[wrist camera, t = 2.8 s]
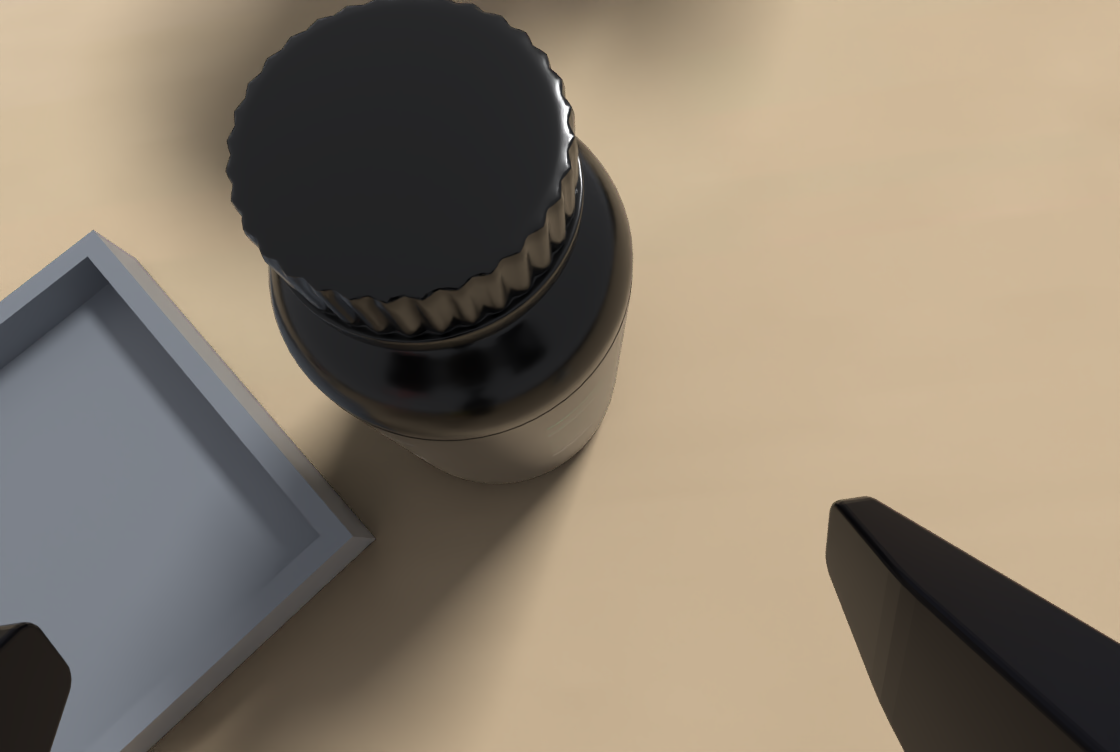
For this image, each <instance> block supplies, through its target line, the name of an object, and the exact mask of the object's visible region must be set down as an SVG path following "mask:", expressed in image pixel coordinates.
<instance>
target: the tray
mask: <svg viewBox="0 0 1120 752" xmlns="http://www.w3.org/2000/svg"><path fill="white" fill-rule="evenodd" d="M375 539H376V538H375V537H374V536H373V535H372V534H371V533H370V531H369V530H368V529H367V528H366V527H365V526H364V524H363V523H362V522H361V521H360V520H359V519H358V517H357V516H356V515H355V514H354V513H353V512H352V510H351V509H350V508H349V507H348V506H347V505H346V503H345V502H344V501H343V500H342V499H341V498H340V496H339V495H338V494H337V493H336V492H335V491H334V489H333V488H332V487H331V486H330V485H329V484H328V482H327V481H326V480H325V479H324V478H323V477H322V475H321V474H320V473H319V472H318V471H317V470H316V468H315V467H314V466H313V465H312V464H311V463H310V461H309V460H308V459H307V458H306V457H305V455H304V454H303V453H302V452H301V451H300V450H299V448H298V447H297V446H296V445H295V444H294V443H293V441H292V440H291V439H290V438H289V437H288V436H287V434H286V433H285V432H284V431H283V430H282V429H281V427H280V426H279V425H278V424H277V423H276V422H275V420H274V419H273V418H272V417H271V416H270V415H269V413H268V412H267V411H266V410H265V409H264V408H263V406H262V405H261V404H260V403H259V402H258V401H257V399H256V398H255V397H254V396H253V395H252V394H251V392H250V391H249V390H248V389H247V388H246V387H245V385H244V384H243V383H242V382H241V381H240V380H239V378H238V377H237V376H236V375H235V374H234V373H233V371H232V370H231V369H230V368H229V367H228V366H227V364H226V363H225V362H224V361H223V360H222V359H221V357H220V356H219V355H218V354H217V353H216V352H215V350H214V349H213V348H212V347H211V346H210V345H209V343H208V342H207V341H206V340H205V339H204V338H203V336H202V335H201V334H200V333H199V332H198V330H197V329H196V328H195V327H194V326H193V325H192V323H191V322H190V321H189V320H188V319H187V318H186V316H185V315H184V314H183V313H182V312H181V311H180V309H179V308H178V307H177V306H176V305H175V304H174V302H173V301H172V300H171V299H170V298H169V297H168V295H167V294H166V293H165V292H164V291H163V290H162V288H161V287H160V286H159V285H158V284H157V283H156V281H155V280H154V279H153V278H152V277H151V276H150V274H149V273H148V272H147V271H146V270H145V269H144V267H143V266H142V265H141V264H140V263H139V262H138V260H137V259H136V258H134V257H133V256H131V255H130V254H128V253H127V252H125V251H124V250H122V249H121V248H119V247H118V246H116V245H115V244H114V243H112V242H111V241H109V240H108V239H106V238H105V237H103V236H102V235H100V234H99V233H97V232H96V231H94V230H92V231H91V232H90V233H89V234H87V235H86V236H85V237H83V238H82V239H81V240H80V241H78V242H77V243H76V244H74V245H73V246H72V247H70V248H69V249H68V250H67V251H65V252H64V253H63V254H61V255H60V256H59V257H58V258H56V259H55V260H54V261H52V262H51V263H50V264H49V265H47V266H46V267H45V268H43V269H42V270H41V271H39V272H38V273H37V274H36V275H34V276H33V277H32V278H30V279H29V280H28V281H27V282H25V283H24V284H23V285H21V286H20V287H19V288H17V289H16V290H15V291H14V292H12V293H11V294H10V295H8V296H7V297H6V298H5V299H3V300H2V301H1V302H0V625H7V624H14V623H20V622H31V623H33V624H35V625H37V626H38V627H39V628H40V629H41V630H42V631H43V632H44V634H45V635H46V636H47V638H48V639H49V640H50V642H51V643H52V644H53V646H54V647H55V648H56V650H57V651H58V652H59V654H60V655H61V656H62V658H63V659H64V660H65V662H66V663H67V664H68V666H69V668H70V671H71V678H72V682H71V689H70V693H69V696H68V699H67V702H66V705H65V708H64V711H63V714H62V717H61V720H60V723H59V726H58V730H57V733H56V736H55V739H54V742H53V745H52V748H51V751H50V752H147V751H148V750H149V749H150V748H151V747H152V746H154V745H155V744H156V743H157V742H158V741H159V740H160V739H161V738H162V737H163V736H164V735H165V734H166V733H167V732H169V731H170V730H171V729H172V728H173V727H174V726H175V725H176V724H177V723H178V722H179V721H180V720H181V719H183V718H184V717H185V716H186V715H187V714H188V713H189V712H190V711H191V710H192V709H193V708H194V707H195V706H197V705H198V704H199V703H200V702H201V701H202V700H203V699H204V698H205V697H206V696H207V695H208V694H209V693H210V692H212V691H213V690H214V689H215V688H216V687H217V686H218V685H219V684H220V683H221V682H222V681H223V680H224V679H226V678H227V677H228V676H229V675H230V674H231V673H232V672H233V671H234V670H235V669H236V668H237V667H238V666H239V665H241V664H242V663H243V662H244V661H245V660H246V659H247V658H248V657H249V656H250V655H251V654H252V653H253V652H255V651H256V650H257V649H258V648H259V647H260V646H261V645H262V644H263V643H264V642H265V641H266V640H267V639H268V638H270V637H271V636H272V635H273V634H274V633H275V632H276V631H277V630H278V629H279V628H280V627H281V626H282V625H284V624H285V623H286V622H287V621H288V620H289V619H290V618H291V617H292V616H293V615H294V614H295V613H296V612H297V611H299V610H300V609H301V608H302V607H303V606H304V605H305V604H306V603H307V602H308V601H309V600H310V599H311V598H313V597H314V596H315V595H316V594H317V593H318V592H319V591H320V590H321V589H322V588H323V587H324V586H325V585H326V584H328V583H329V582H330V581H331V580H332V579H333V578H334V577H335V576H336V575H337V574H338V573H339V572H340V571H342V570H343V569H344V568H345V567H346V566H347V565H348V564H349V563H350V562H351V561H352V560H353V559H354V558H355V557H357V556H358V555H359V554H360V553H361V552H362V551H363V550H364V549H365V548H366V547H367V546H368V545H369V544H371V543H372V542H373V541H374V540H375Z"/></svg>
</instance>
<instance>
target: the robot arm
mask: <svg viewBox="0 0 1120 752" xmlns="http://www.w3.org/2000/svg"><path fill="white" fill-rule="evenodd" d="M826 564H827V568H828V572H829V575H830V578H831V580H832V583H833V586H834V588H835V591H836V593H837V596H838V598H839V601H840V603H841V606H842V609H843V611H844V614H845V616H846V619H847V621H848V624H849V627H850V629H851V632H852V634H853V637H854V639H855V642H856V644H857V647H858V650H859V652H860V655H861V657H862V660H863V662H864V665H865V668H866V670H867V673H868V675H869V678H870V680H871V683H872V685H873V688H874V690H875V692H876V695H877V697H878V700H879V702H880V704H881V706H882V708H883V710H884V712H885V714H886V716H887V719H888V721H889V723H890V725H891V727H892V729H893V731H894V732H895V734H896V736H897V738H898V740H899V742H900V744H901V746H902V748H903V750H904V752H1120V643H1118V642H1116V641H1115V640H1113V639H1111V638H1110V637H1108V636H1106V635H1105V634H1103V633H1101V632H1100V631H1098V630H1096V629H1095V628H1093V627H1091V626H1089V625H1088V624H1086V623H1084V622H1083V621H1081V620H1079V619H1078V618H1076V617H1074V616H1073V615H1071V614H1069V613H1067V612H1066V611H1064V610H1062V609H1061V608H1059V607H1057V606H1056V605H1054V604H1052V603H1051V602H1049V601H1047V600H1046V599H1044V598H1042V597H1040V596H1039V595H1037V594H1035V593H1034V592H1032V591H1030V590H1029V589H1027V588H1025V587H1024V586H1022V585H1020V584H1018V583H1017V582H1015V581H1013V580H1012V579H1010V578H1008V577H1007V576H1005V575H1003V574H1002V573H1000V572H998V571H996V570H995V569H993V568H991V567H990V566H988V565H986V564H985V563H983V562H981V561H980V560H978V559H976V558H975V557H973V556H971V555H969V554H968V553H966V552H964V551H963V550H961V549H959V548H958V547H956V546H954V545H953V544H951V543H949V542H947V541H946V540H944V539H942V538H941V537H939V536H937V535H936V534H934V533H932V532H931V531H929V530H927V529H926V528H924V527H922V526H920V525H919V524H917V523H915V522H914V521H912V520H910V519H909V518H907V517H905V516H904V515H902V514H900V513H898V512H897V511H895V510H893V509H892V508H890V507H888V506H887V505H885V504H883V503H882V502H880V501H878V500H876V499H874V498H872V497H867V496H863V497H856V498H849V499H843V500H838V501H836V502H834V503H833V504H832V506H831V508H830V513H829V523H828V533H827V544H826ZM71 682H72V678H71V671H70V668H69V666H68V664H67V663H66V662H65V660H64V659H63V658H62V656H61V655H60V654H59V652H58V651H57V650H56V648H55V647H54V646H53V644H52V643H51V642H50V640H49V639H48V638H47V636H46V635H45V634H44V632H43V631H42V630H41V629H40V628H39V627H38V626H37V625H35V624H33V623H31V622H20V623H14V624H7V625H0V752H50V751H51V748H52V745H53V742H54V739H55V736H56V733H57V730H58V726H59V723H60V720H61V717H62V714H63V711H64V708H65V705H66V702H67V699H68V696H69V693H70V689H71Z"/></svg>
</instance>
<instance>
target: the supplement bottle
mask: <svg viewBox="0 0 1120 752" xmlns="http://www.w3.org/2000/svg"><path fill="white" fill-rule="evenodd" d="M234 123H235V126H234V128H233V130H232V132H231V133H230V135H229V137H228V139H227V145H228V149H229V152H230V157H229V160H228V163H227V167H226V174H227V176H228V178H229V180H230V181H231V183H232V192H231V202H232V204H233V206H234V208H235V209H236V210H237V211H238V212H239V214H240V215H241V216H242V226H243V230H244V232H245V234H246V236H247V237H248V238H249V239H250V240H251V241H252V242H253V243H254V244H255V245H256V246H257V247H258V248H259V250H260V252H261V255H262V257H263V259H264V260H265V262H266V263H267V264H268V265H269V266H268V272H269V289H270V296H271V303H272V307H273V311H274V315H275V319H276V322H277V325H278V327H279V330H280V333H281V335H282V337H283V339H284V341H285V343H286V345H287V347H288V349H289V351H290V353H291V355H292V356H293V358H294V359H295V361H296V362H297V364H298V366H299V367H300V368H301V369H302V371H303V372H304V373H305V374H306V376H307V377H308V378H309V379H310V380H311V381H312V382H313V383H314V384H315V385H316V386H317V387H318V388H319V389H320V390H321V391H322V392H323V393H324V394H325V395H326V396H327V397H329V398H330V399H331V400H332V401H333V402H335V403H336V404H337V405H339V406H340V407H341V408H342V409H344V410H345V411H347V412H348V413H350V414H351V415H353V416H354V417H356V418H358V419H359V420H361V421H362V422H364V423H365V424H367V425H369V426H370V427H372V428H373V429H375V430H377V431H378V432H380V433H381V434H383V435H385V436H386V437H388V438H389V439H391V440H392V441H394V442H396V443H397V444H399V445H400V446H402V447H404V448H405V449H407V450H408V451H410V452H412V453H413V454H415V455H416V456H418V457H420V458H421V459H423V460H424V461H426V462H427V463H429V464H431V465H432V466H434V467H436V468H438V469H440V470H442V471H444V472H446V473H448V474H450V475H453V476H456V477H458V478H461V479H465V480H469V481H474V482H480V483H490V484H504V483H514V482H520V481H524V480H528V479H532V478H535V477H538V476H540V475H543V474H545V473H547V472H549V471H551V470H553V469H555V468H557V467H558V466H560V465H562V464H563V463H565V462H566V461H567V460H569V459H570V458H572V457H573V456H574V455H575V454H576V453H577V452H578V451H579V450H581V449H582V447H583V446H584V445H585V444H586V443H587V442H588V441H589V440H590V438H591V437H592V436H593V434H594V433H595V432H596V430H597V428H598V427H599V425H600V423H601V422H602V420H603V418H604V416H605V414H606V411H607V409H608V406H609V403H610V401H611V397H612V393H613V389H614V385H615V381H616V375H617V369H618V364H619V358H620V352H621V346H622V341H623V335H624V329H625V323H626V317H627V312H628V306H629V300H630V293H631V285H632V270H633V250H632V237H631V232H630V226H629V221H628V218H627V215H626V211H625V208H624V205H623V203H622V200H621V198H620V195H619V193H618V191H617V188H616V187H615V185H614V183H613V181H612V179H611V177H610V176H609V174H608V173H607V171H606V170H605V168H604V167H603V165H602V164H601V162H600V161H599V160H598V159H597V158H596V156H595V155H594V154H593V153H592V152H591V151H590V149H589V148H588V147H587V146H586V145H585V144H584V143H583V142H582V141H581V140H580V139H579V138H577V137H576V136H575V117H574V112H573V109H572V107H571V105H570V103H569V102H568V100H567V99H566V98H565V86H564V83H563V80H562V79H561V78H560V77H559V76H558V75H557V73H555V72H554V71H553V70H552V69H551V66H550V62H549V59H548V56H547V54H546V53H544V52H543V51H541V50H540V49H538V48H536V47H534V46H533V45H532V43H531V40H530V38H529V36H528V35H527V33H526V32H524V31H522V30H519V29H515V28H513V27H511V26H510V25H509V24H508V23H507V21H506V20H505V19H504V18H503V17H502V16H501V15H497V14H492V13H485V12H483V11H482V10H481V9H480V8H479V7H477V6H476V5H474V4H471V3H455V2H453V1H451V0H372V1H370V2H368V3H366V4H364V5H352V6H346V7H345V8H343V9H342V10H340V11H339V12H338V13H336V14H335V15H333V16H328V17H324V18H320V19H317V20H316V21H315V22H314V23H313V24H312V25H311V26H310V27H309V28H308V29H307V30H306V31H304V32H301V33H298V34H296V35H294V36H291V37H290V38H289V40H288V41H287V42H286V44H285V45H284V47H283V48H282V50H280V51H279V52H277V53H275V54H273V55H272V56H270V57H269V58H267V60H266V62H265V64H264V66H263V69H262V71H261V73H260V74H259V75H258V76H256V77H255V78H254V79H253V80H251V81H250V82H249V83H248V86H247V90H246V96H245V99H244V100H243V101H242V102H241V103H240V105H239V106H238V107H237V109H236V110H235V111H234Z"/></svg>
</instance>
